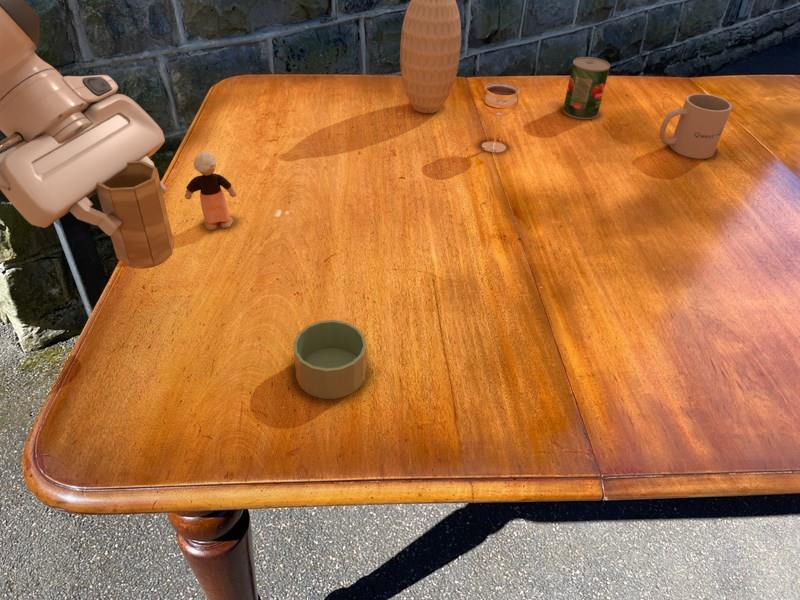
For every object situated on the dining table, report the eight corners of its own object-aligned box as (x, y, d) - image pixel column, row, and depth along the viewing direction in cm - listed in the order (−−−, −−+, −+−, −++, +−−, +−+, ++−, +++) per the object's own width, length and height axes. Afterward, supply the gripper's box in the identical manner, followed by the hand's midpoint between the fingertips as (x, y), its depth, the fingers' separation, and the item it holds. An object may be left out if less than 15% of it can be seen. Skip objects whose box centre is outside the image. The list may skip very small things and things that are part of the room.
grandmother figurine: (236, 213, 106) (226, 143, 98) (242, 225, 103) (231, 154, 95) (189, 223, 103) (174, 151, 95) (193, 235, 100) (179, 163, 92)
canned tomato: (601, 120, 140) (613, 71, 133) (565, 118, 140) (576, 68, 133) (594, 105, 147) (606, 57, 139) (560, 103, 147) (570, 55, 139)
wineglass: (495, 157, 125) (504, 98, 117) (470, 145, 129) (477, 87, 121) (517, 148, 128) (527, 90, 121) (492, 136, 132) (500, 79, 124)
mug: (707, 141, 134) (725, 95, 128) (718, 160, 128) (737, 113, 121) (648, 136, 135) (663, 90, 129) (657, 155, 129) (672, 107, 122)
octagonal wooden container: (142, 276, 75) (119, 195, 68) (108, 256, 78) (83, 176, 70) (185, 251, 79) (167, 172, 72) (151, 233, 82) (131, 155, 74)
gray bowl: (335, 410, 75) (334, 381, 71) (281, 377, 78) (278, 348, 75) (379, 368, 80) (380, 339, 77) (326, 339, 84) (325, 310, 80)
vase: (428, 125, 135) (439, -19, 117) (386, 106, 141) (389, -33, 123) (466, 109, 142) (481, -29, 124) (424, 92, 149) (432, -42, 130)
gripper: (-24, 141, 61) (88, 248, 65) (118, 70, 75) (202, 161, 79) (-41, 173, 65) (66, 272, 69) (97, 100, 79) (178, 185, 83)
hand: (140, 212), depth 74 cm, fingers closed on octagonal wooden container, 7 cm apart
